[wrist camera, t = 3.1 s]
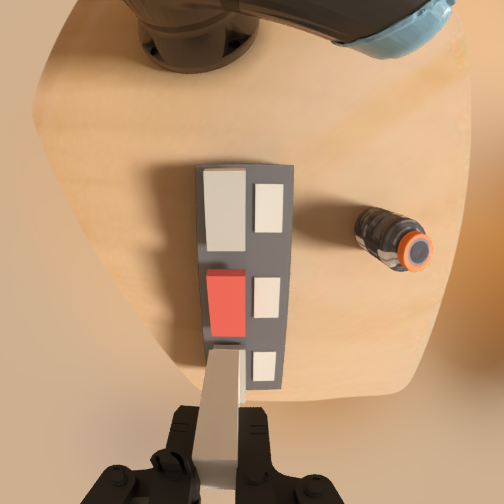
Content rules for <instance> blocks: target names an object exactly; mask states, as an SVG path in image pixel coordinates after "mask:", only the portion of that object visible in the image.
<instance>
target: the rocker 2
mask: <svg viewBox="0 0 504 504" xmlns="http://www.w3.org/2000/svg"><path fill="white" fill-rule="evenodd" d="M213 350H239V371H240V403H246V353H245V345H214V347H213Z"/></svg>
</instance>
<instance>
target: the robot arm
mask: <svg viewBox="0 0 504 504" xmlns="http://www.w3.org/2000/svg"><path fill="white" fill-rule="evenodd" d="M124 2H125V3H126V4H127V5H128V6H129V8H130V9H131V10H132V11H133V12H134V14H135V15H136V16H137V17H138V28H139V39H140V42H141V45H142V47H143V49H144V50H145V52H146V53H147V54H148V55H149V56H150V58H151V59H152V60H153V61H154V62H156V63H157V64H158V65H160V66H161V67H163V68H165V69H168V70H171V71H174V72H179V73H202V72H208V71H212V70H215V69H218V68H221V67H223V66H226V65H228V64H230V63H231V62H233V61H235V60H236V59H238V58H239V57H240V56H242V55H243V54H244V53H245V52H246V51H247V50H248V49H249V47H250V46H251V45H252V43H253V42H254V40H255V38H256V35H257V32H258V27H259V18H261V19H265V20H269V21H273V22H276V23H280V24H283V25H287V26H290V27H293V28H296V29H299V30H302V31H305V32H308V33H311V34H314V35H317V36H319V37H322V38H325V39H327V40H330V41H331V42H332V43H333V44H335V45H337V46H340V47H349V48H351V49H354V50H356V51H359V52H361V53H363V54H366V55H368V56H370V57H373V58H376V59H382V60H384V59H390V58H391V59H396V58H400V57H403V56H406V55H408V54H410V53H412V52H414V51H415V50H417V49H419V48H420V47H422V46H423V45H424V44H426V43H427V42H428V41H429V40H430V39H431V38H433V37H434V36H435V35H436V34H437V33H438V32H439V31H440V30H441V28H442V27H443V26H444V25H445V23H446V22H447V20H448V19H449V17H450V15H451V13H452V10H451V8H450V7H451V6H452V5H454V4H455V3H456V0H124ZM150 461H151V463H152V465H153V468H151V469H146V470H133V471H132V470H131V469H129V468H127V467H126V466H123V465H112V466H110V467H108V468H107V469H105V470H104V471H103V473H102V474H101V476H100V477H99V479H98V480H97V481H96V483H95V484H94V485H93V487H92V488H91V490H90V491H89V493H88V494H87V495H86V496H85V498H84V499H83V501H82V502H81V503H80V504H201V497H200V485H201V487H202V488H211V489H234V490H236V492H235V504H344V502H343V500H342V499H341V497H340V495H339V494H338V492H337V490H336V489H335V487H334V485H333V484H332V482H331V481H330V480H329V479H328V478H326V477H324V476H322V475H316V474H313V475H307V476H305V477H303V478H296V477H290V476H286V475H283V474H281V473H279V472H278V471H277V470H275V468H274V467H273V465H272V462H271V453H270V442H269V431H268V421H267V415H266V413H265V412H264V410H263V409H262V408H261V407H240V371H239V350H209V354H208V360H207V366H206V372H205V377H204V383H203V389H202V395H201V401H200V407H196V406H183V405H181V406H180V407H179V408H178V409H177V410H176V411H175V413H174V416H173V420H172V424H171V428H170V432H169V436H168V440H167V444H166V449H162V450H159V451H157V452H156V453H154V454H153V455H152V457H151V459H150Z"/></svg>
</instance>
